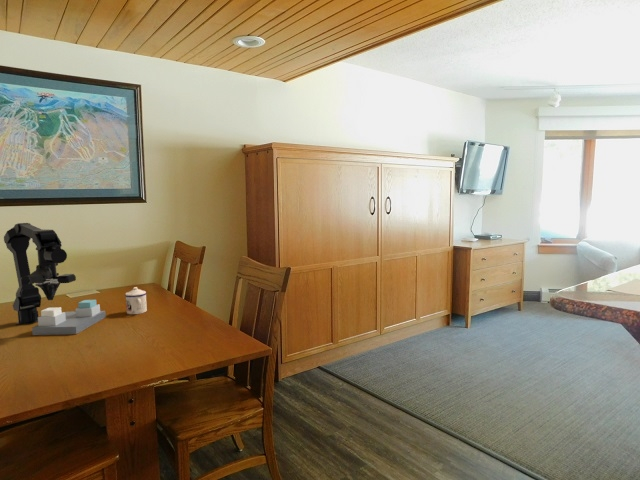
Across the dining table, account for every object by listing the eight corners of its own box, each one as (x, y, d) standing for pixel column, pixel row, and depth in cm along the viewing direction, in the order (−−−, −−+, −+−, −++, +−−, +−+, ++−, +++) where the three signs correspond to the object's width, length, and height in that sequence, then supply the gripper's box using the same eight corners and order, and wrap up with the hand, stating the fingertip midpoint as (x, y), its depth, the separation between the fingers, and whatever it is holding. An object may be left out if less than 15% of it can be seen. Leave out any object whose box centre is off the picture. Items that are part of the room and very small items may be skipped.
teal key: (78, 309, 178) (78, 302, 178) (85, 306, 183) (84, 300, 182) (90, 309, 178) (90, 302, 178) (96, 306, 183) (96, 299, 183)
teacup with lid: (124, 311, 195) (122, 287, 194) (144, 308, 201) (143, 284, 199) (129, 317, 186) (128, 291, 184) (151, 313, 191) (149, 288, 190)
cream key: (41, 318, 166) (40, 310, 165) (49, 314, 171) (48, 307, 170) (54, 318, 166) (53, 310, 166) (61, 314, 171) (61, 307, 171)
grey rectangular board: (32, 335, 163) (31, 318, 163) (67, 318, 186) (66, 303, 186) (76, 334, 164) (75, 317, 163) (105, 317, 186) (104, 303, 186)
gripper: (8, 265, 158) (12, 305, 159) (58, 264, 158) (61, 304, 160) (28, 261, 169) (32, 298, 171) (75, 259, 169) (78, 297, 171)
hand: (50, 300), depth 168 cm, fingers closed
